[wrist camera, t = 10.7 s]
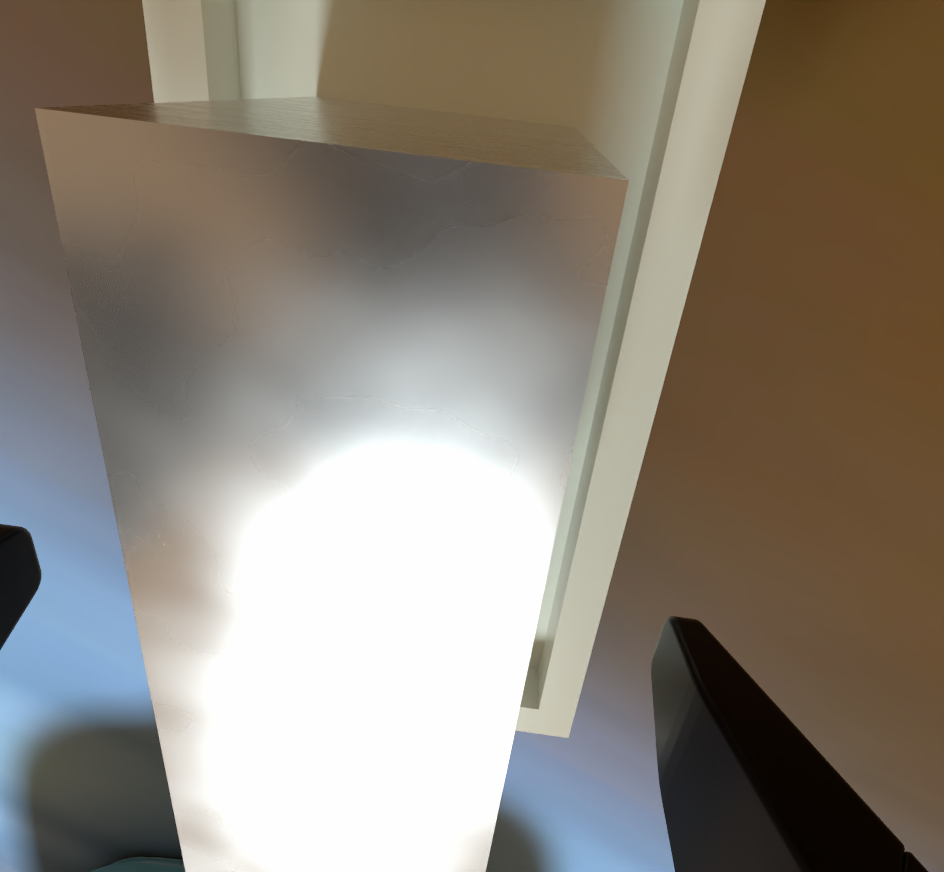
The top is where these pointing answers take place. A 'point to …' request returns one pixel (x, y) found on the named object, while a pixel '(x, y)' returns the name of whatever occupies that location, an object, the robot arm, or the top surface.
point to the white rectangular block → (333, 448)
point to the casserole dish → (144, 865)
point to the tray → (540, 101)
